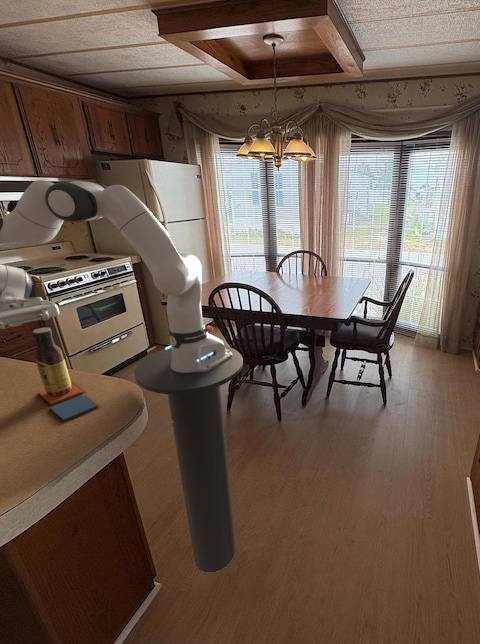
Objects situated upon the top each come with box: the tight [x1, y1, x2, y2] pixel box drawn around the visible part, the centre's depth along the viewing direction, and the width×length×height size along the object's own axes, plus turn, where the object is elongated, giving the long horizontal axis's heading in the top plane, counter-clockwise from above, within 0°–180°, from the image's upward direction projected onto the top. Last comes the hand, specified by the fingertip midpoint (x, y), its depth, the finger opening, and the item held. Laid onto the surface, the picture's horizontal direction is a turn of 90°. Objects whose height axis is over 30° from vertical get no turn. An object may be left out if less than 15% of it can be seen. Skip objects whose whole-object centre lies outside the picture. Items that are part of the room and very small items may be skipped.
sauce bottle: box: [32, 327, 72, 396], centre depth 97 cm, size 7×6×20 cm
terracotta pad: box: [38, 382, 84, 406], centre depth 101 cm, size 8×9×1 cm
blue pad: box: [49, 394, 98, 422], centre depth 94 cm, size 8×9×1 cm
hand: (26, 321), depth 99 cm, fingers open, 8 cm apart
